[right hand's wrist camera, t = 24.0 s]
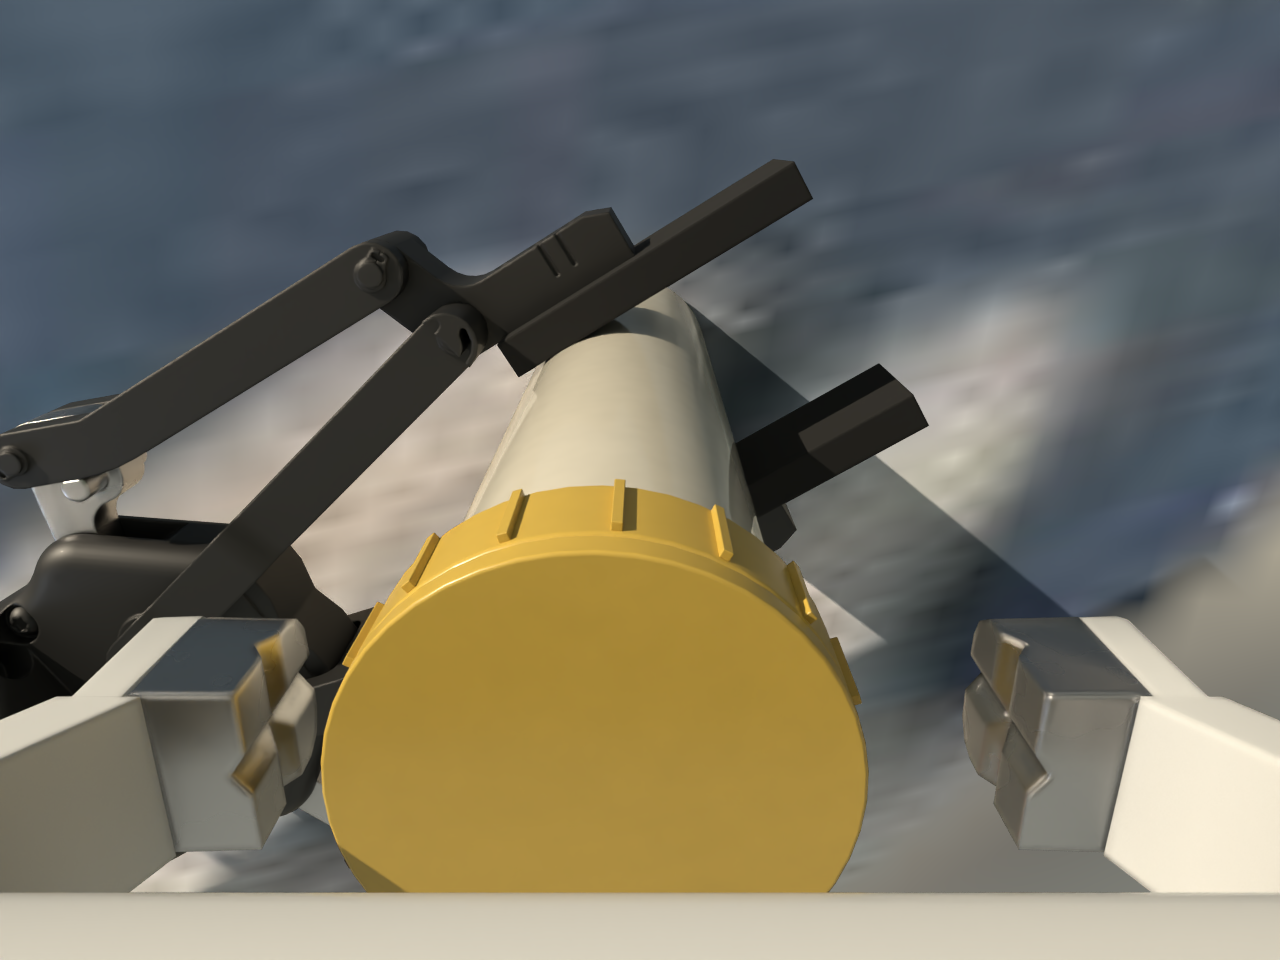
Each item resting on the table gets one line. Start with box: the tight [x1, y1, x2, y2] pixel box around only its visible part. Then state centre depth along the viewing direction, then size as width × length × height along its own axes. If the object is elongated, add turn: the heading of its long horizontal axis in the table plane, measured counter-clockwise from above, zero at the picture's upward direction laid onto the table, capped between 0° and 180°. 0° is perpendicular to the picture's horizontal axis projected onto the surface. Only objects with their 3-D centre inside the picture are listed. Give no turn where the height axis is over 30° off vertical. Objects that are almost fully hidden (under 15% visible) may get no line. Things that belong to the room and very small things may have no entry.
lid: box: [321, 479, 869, 893], centre depth 9 cm, size 5×5×2 cm
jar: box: [463, 288, 765, 544], centre depth 17 cm, size 4×4×17 cm
